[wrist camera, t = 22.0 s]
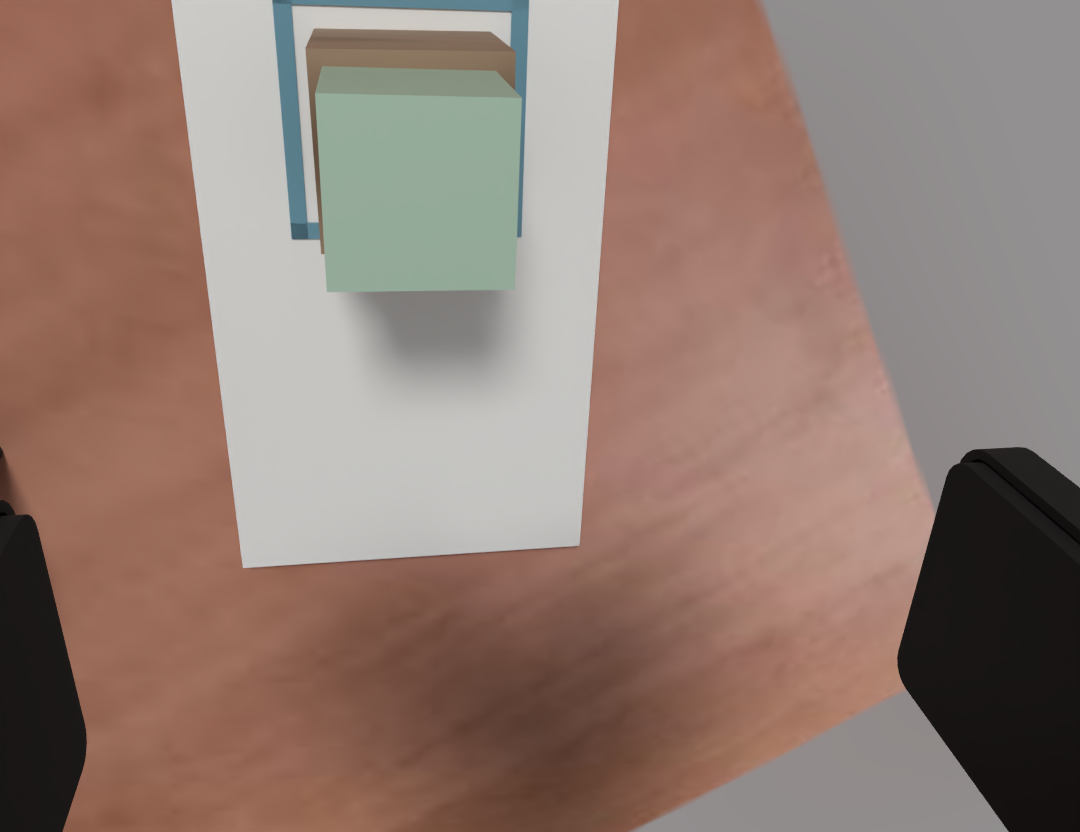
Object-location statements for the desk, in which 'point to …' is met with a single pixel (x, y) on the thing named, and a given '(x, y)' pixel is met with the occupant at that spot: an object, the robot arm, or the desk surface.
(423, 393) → the building board
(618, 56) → the desk surface
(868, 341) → the desk surface
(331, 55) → the walnut block
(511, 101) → the sage cube
